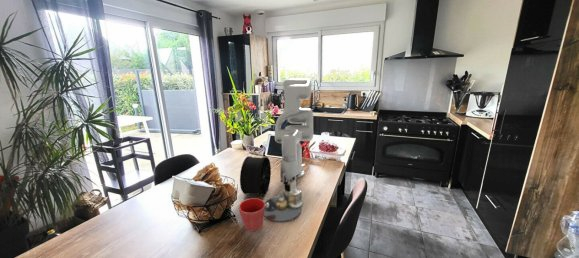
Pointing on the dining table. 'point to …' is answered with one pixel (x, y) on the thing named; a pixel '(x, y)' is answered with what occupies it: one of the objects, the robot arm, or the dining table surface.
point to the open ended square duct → (292, 186)
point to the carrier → (284, 207)
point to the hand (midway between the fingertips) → (290, 188)
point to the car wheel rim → (255, 175)
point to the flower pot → (252, 213)
